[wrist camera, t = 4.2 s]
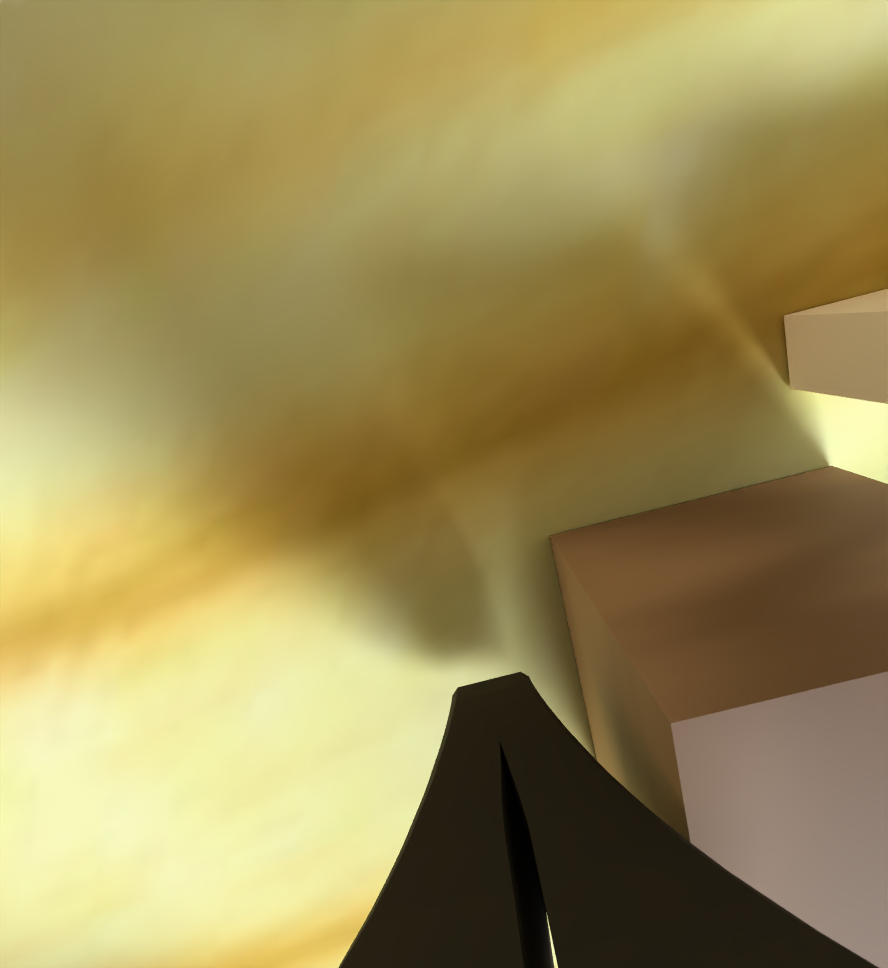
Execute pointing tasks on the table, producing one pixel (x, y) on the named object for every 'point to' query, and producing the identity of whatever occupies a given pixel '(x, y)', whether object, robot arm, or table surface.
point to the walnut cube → (750, 684)
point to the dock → (841, 348)
